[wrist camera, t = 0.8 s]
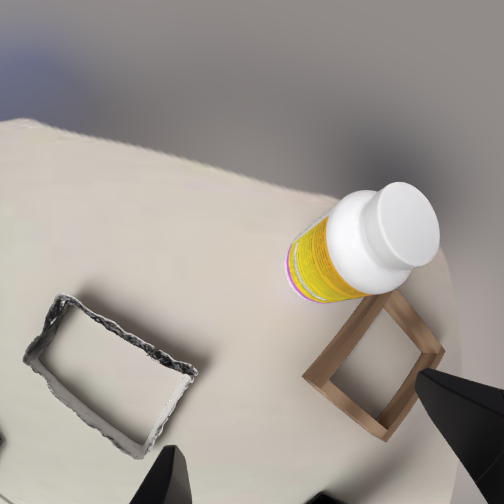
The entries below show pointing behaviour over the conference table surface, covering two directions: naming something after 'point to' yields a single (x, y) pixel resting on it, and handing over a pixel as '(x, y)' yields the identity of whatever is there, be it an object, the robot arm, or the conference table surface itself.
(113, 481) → the conference table surface
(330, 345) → the brown wooden square frame
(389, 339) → the conference table surface
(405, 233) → the supplement bottle
